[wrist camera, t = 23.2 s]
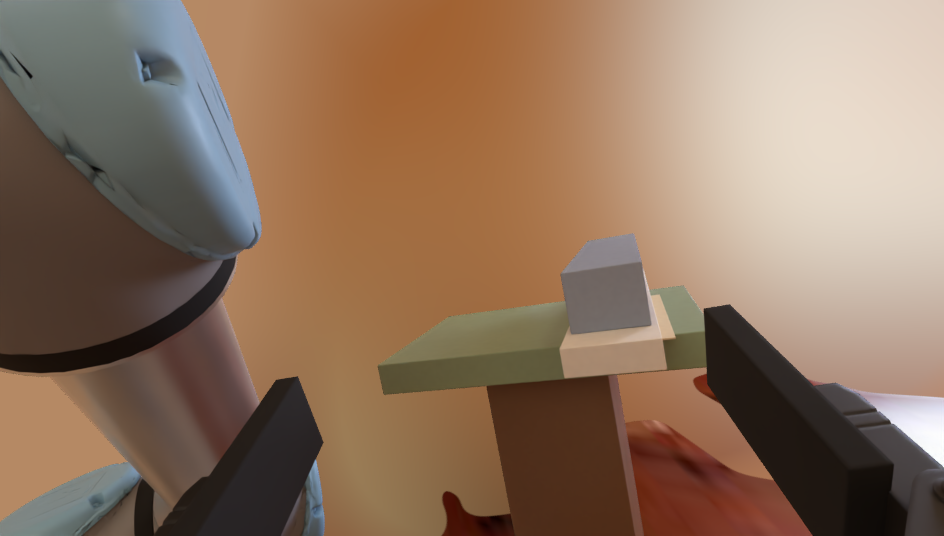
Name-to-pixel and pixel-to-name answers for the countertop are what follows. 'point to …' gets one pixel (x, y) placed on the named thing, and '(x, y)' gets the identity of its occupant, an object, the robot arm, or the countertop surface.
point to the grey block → (609, 312)
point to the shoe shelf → (548, 409)
